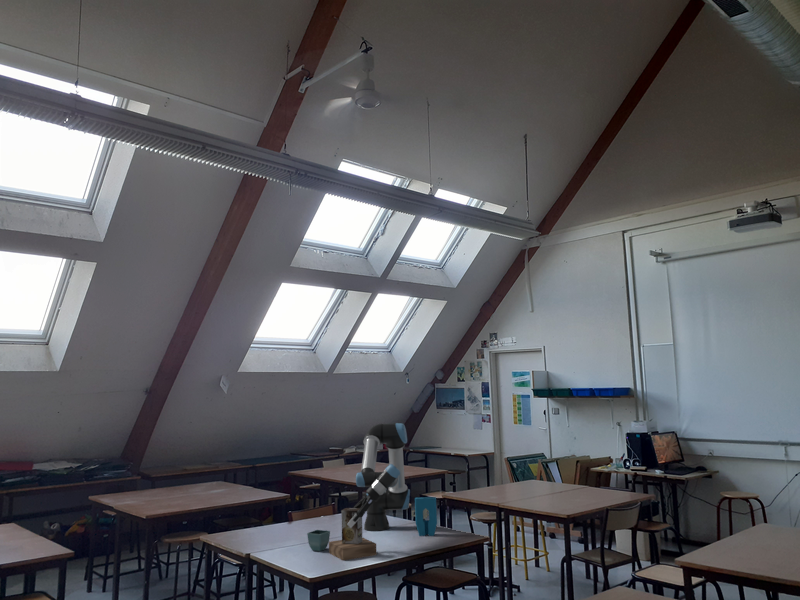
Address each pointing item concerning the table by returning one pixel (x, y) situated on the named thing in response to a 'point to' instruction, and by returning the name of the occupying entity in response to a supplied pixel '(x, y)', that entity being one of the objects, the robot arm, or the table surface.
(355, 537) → the coffee box
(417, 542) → the table surface
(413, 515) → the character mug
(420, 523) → the block
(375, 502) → the robot arm
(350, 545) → the walnut block
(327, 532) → the flower pot
